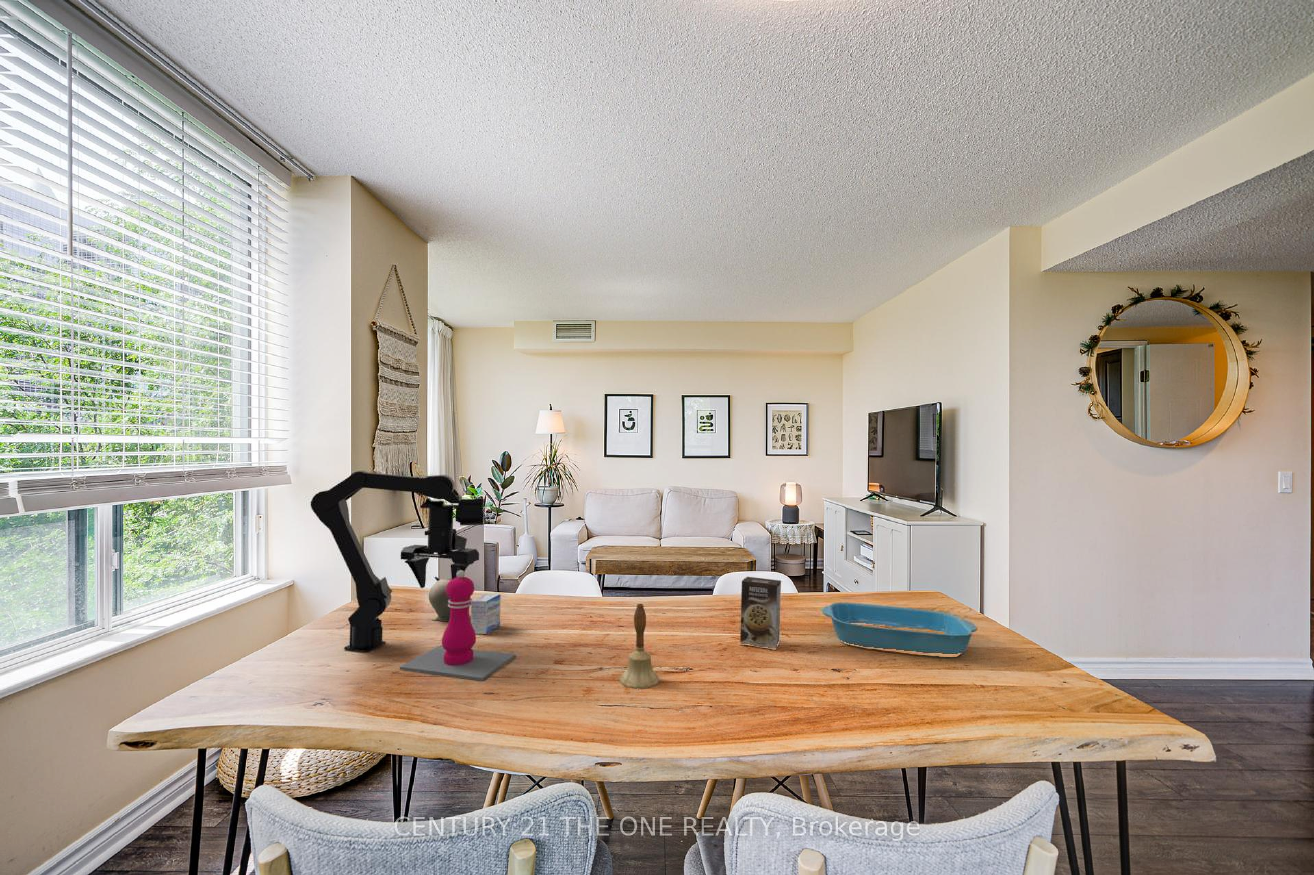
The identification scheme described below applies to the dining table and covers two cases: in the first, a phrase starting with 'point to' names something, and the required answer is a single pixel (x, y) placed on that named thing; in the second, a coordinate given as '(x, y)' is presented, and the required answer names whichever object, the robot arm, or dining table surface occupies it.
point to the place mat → (474, 670)
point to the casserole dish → (899, 617)
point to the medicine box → (485, 613)
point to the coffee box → (760, 612)
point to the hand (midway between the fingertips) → (438, 589)
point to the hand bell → (639, 658)
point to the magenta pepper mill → (459, 622)
